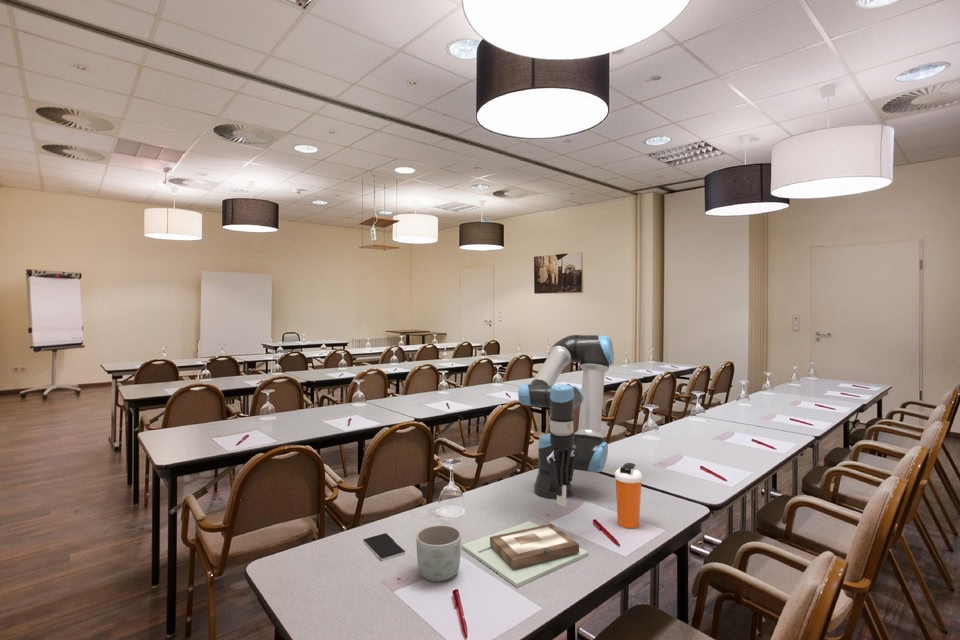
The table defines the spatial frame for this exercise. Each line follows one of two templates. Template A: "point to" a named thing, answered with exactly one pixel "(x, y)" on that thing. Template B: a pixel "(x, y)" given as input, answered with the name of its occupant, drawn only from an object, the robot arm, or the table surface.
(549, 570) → the wall panel
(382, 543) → the smartphone
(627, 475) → the shaker bottle
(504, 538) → the frame
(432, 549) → the planter
